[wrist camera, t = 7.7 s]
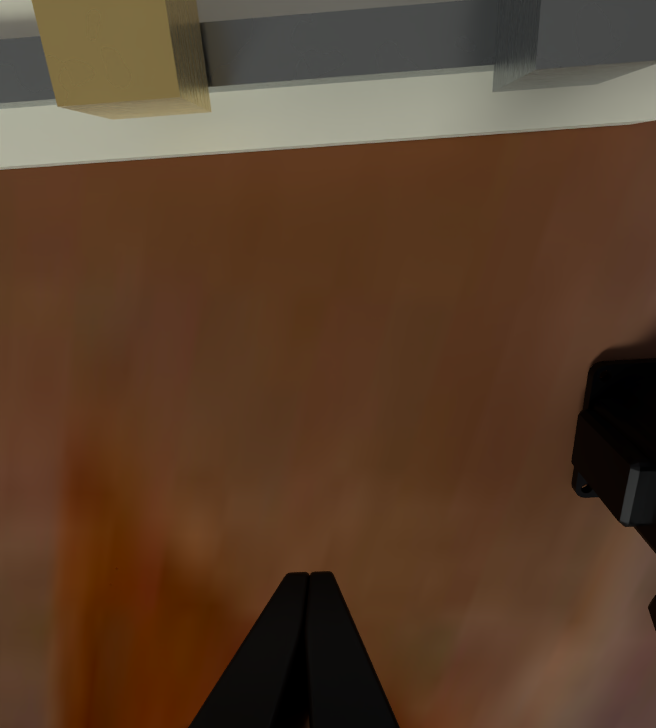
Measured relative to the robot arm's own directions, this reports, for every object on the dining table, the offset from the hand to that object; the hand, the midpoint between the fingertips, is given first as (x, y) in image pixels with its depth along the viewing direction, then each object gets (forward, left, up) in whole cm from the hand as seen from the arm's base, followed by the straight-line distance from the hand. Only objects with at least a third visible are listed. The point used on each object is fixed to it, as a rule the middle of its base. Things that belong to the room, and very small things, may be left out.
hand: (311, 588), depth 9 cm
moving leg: (+4, -13, -10) cm, 17 cm away
